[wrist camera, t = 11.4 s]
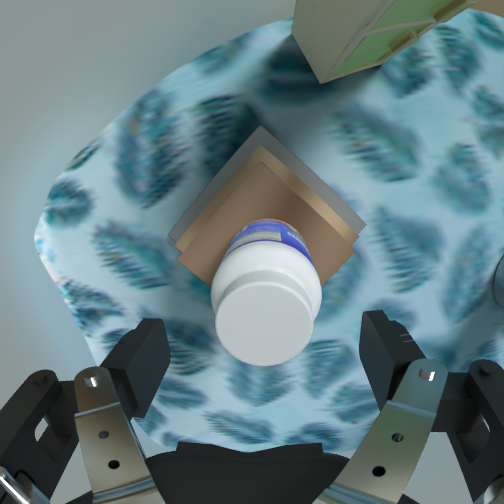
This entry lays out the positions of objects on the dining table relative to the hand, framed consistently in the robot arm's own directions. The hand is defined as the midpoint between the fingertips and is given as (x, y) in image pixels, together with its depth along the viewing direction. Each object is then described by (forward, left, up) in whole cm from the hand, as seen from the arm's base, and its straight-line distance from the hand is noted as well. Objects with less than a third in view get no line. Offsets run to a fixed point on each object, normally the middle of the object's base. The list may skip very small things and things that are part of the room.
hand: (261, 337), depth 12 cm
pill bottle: (0, 0, -10) cm, 10 cm away
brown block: (0, 0, -18) cm, 19 cm away
